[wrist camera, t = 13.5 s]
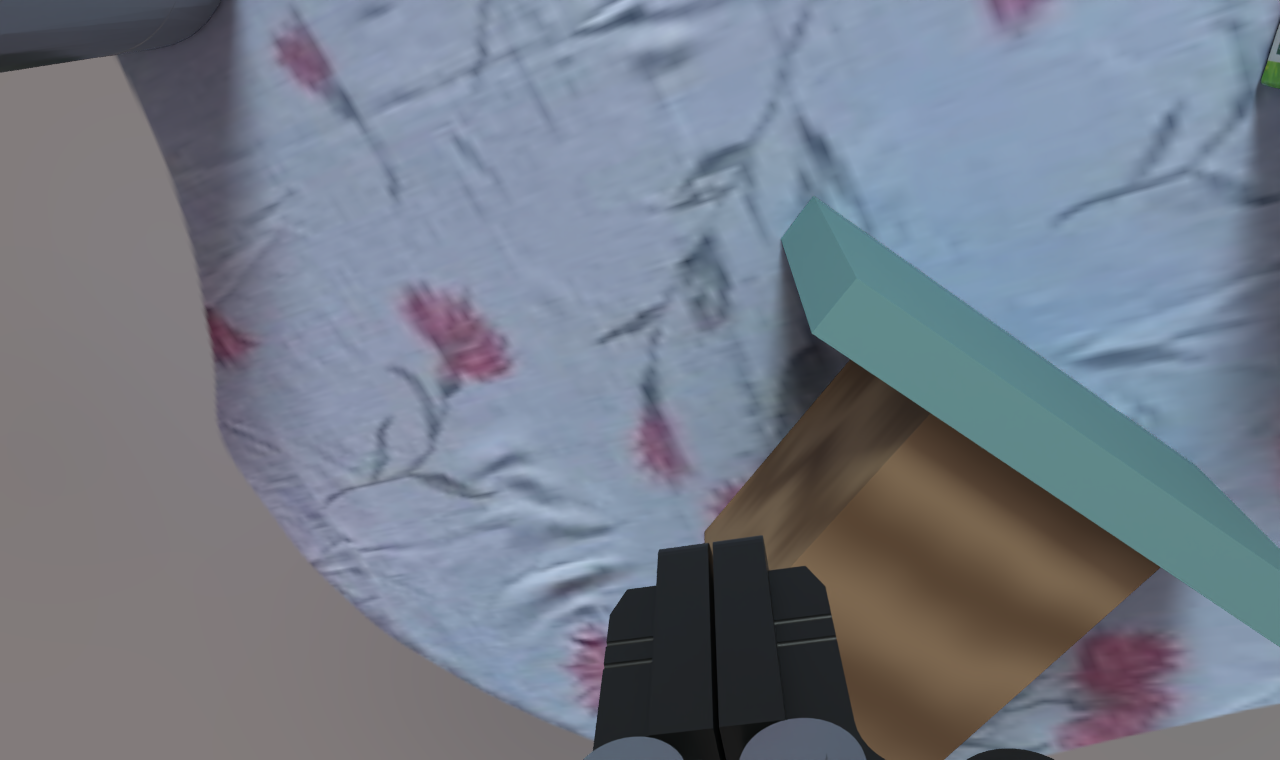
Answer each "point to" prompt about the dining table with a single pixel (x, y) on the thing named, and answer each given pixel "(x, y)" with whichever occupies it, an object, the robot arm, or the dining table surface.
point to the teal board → (1029, 414)
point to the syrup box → (1273, 65)
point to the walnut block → (927, 562)
